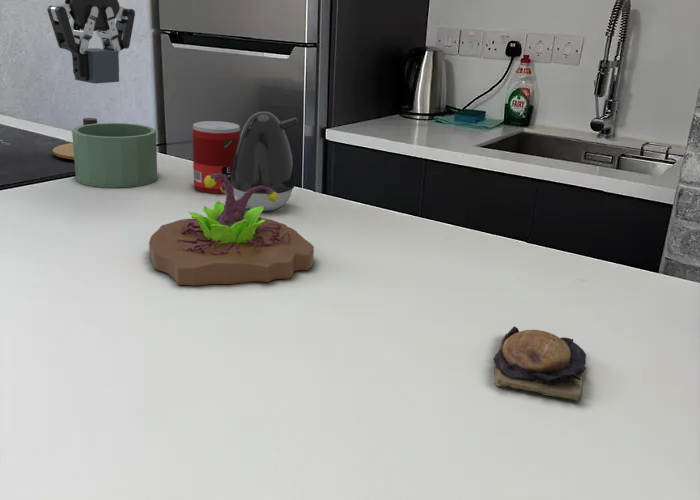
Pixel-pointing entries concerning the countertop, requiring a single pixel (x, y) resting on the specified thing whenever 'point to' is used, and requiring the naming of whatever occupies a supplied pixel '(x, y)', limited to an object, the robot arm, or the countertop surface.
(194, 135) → the canned food
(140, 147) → the tin
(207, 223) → the plant
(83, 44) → the robot arm
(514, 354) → the toy sandwich
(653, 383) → the countertop surface
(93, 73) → the block
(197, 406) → the countertop surface
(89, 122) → the lid
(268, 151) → the pump dispenser
